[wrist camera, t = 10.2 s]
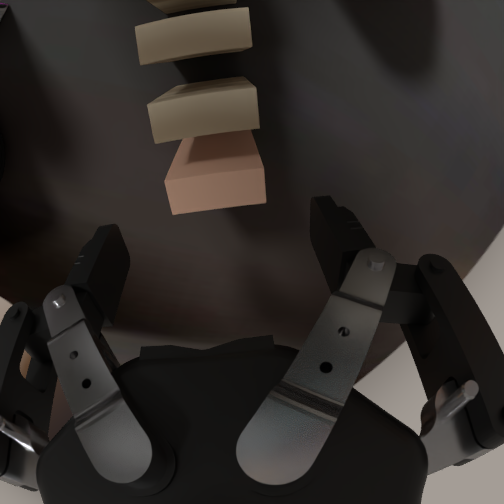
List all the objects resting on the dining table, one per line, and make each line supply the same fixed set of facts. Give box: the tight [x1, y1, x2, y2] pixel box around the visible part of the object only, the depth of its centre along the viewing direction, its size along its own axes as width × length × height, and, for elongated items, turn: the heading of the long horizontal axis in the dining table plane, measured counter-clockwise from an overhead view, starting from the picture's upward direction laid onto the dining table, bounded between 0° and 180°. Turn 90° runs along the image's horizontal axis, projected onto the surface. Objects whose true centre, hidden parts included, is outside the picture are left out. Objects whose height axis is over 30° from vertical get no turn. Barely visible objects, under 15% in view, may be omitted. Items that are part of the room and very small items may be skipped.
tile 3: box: [135, 7, 252, 65], centre depth 13 cm, size 2×5×9 cm, turn 95°
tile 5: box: [165, 130, 266, 215], centre depth 18 cm, size 2×5×9 cm, turn 95°
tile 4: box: [147, 76, 260, 144], centre depth 16 cm, size 2×5×9 cm, turn 95°
